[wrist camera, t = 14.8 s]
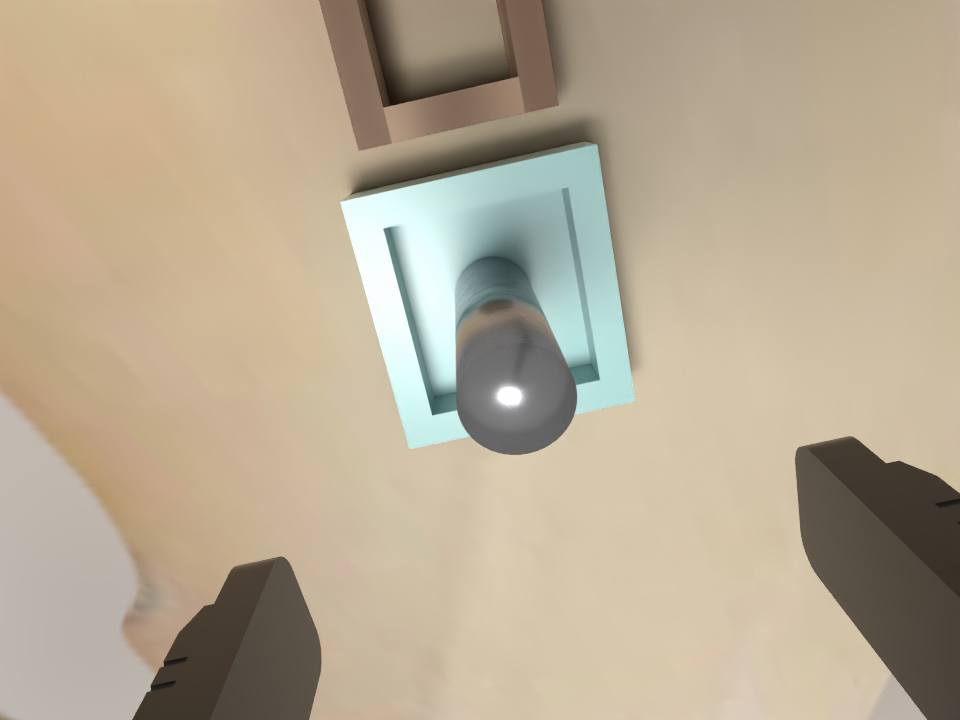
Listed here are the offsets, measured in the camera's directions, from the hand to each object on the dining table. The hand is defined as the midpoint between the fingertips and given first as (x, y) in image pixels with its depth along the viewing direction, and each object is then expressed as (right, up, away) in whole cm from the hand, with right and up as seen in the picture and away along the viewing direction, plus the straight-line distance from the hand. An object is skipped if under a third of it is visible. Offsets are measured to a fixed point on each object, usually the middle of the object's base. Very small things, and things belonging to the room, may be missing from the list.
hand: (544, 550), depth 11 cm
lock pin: (0, +6, +25) cm, 26 cm away
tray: (0, +7, +26) cm, 27 cm away
